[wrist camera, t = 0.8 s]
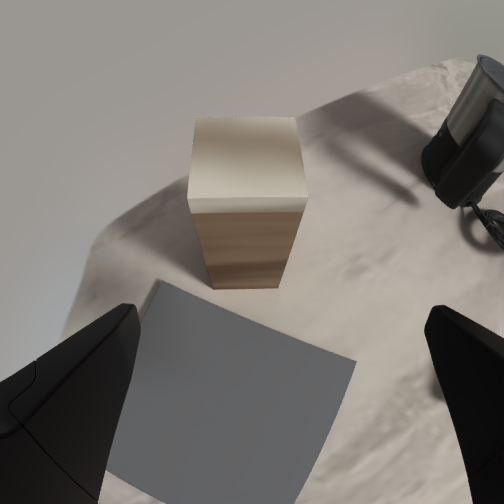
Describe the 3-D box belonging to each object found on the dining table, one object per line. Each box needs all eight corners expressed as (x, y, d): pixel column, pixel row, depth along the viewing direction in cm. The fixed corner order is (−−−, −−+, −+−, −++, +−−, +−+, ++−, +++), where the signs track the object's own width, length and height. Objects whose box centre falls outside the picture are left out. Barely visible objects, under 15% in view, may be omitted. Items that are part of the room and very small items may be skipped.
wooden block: (277, 288, 24) (308, 197, 13) (213, 289, 24) (187, 198, 13) (274, 230, 26) (295, 117, 15) (214, 231, 26) (196, 118, 15)
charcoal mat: (270, 538, 16) (271, 541, 15) (84, 451, 18) (81, 453, 17) (354, 362, 22) (356, 361, 21) (164, 283, 24) (162, 280, 23)
